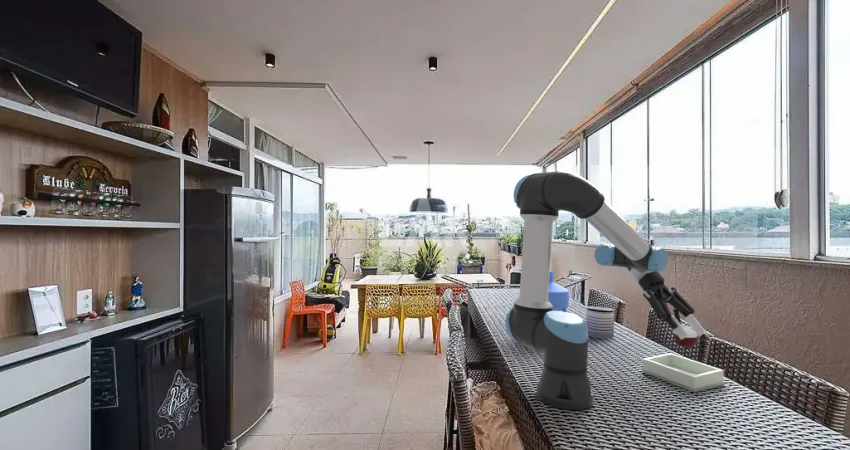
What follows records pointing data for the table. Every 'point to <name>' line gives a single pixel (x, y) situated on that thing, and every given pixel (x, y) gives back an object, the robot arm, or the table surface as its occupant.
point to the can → (600, 322)
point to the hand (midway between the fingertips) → (693, 335)
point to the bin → (683, 372)
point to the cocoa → (691, 337)
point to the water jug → (557, 295)
